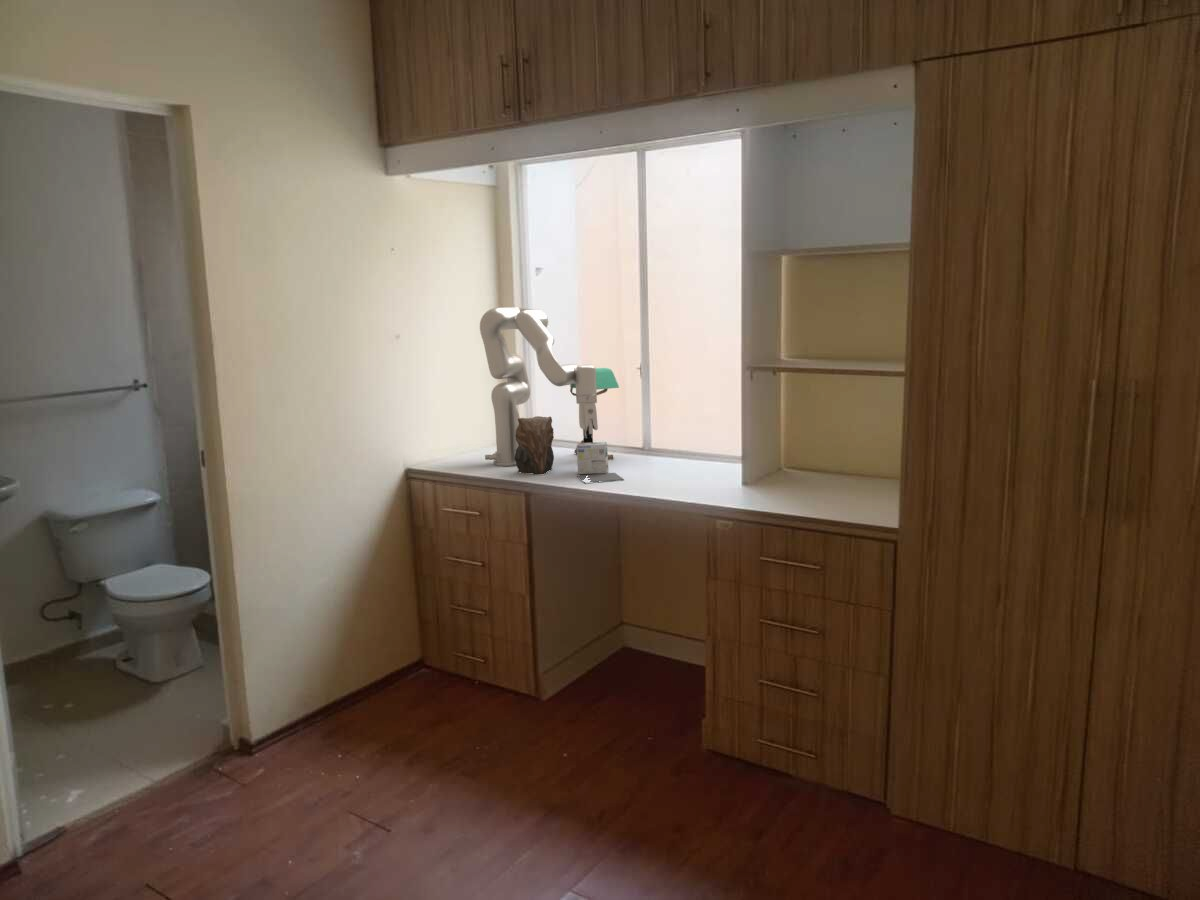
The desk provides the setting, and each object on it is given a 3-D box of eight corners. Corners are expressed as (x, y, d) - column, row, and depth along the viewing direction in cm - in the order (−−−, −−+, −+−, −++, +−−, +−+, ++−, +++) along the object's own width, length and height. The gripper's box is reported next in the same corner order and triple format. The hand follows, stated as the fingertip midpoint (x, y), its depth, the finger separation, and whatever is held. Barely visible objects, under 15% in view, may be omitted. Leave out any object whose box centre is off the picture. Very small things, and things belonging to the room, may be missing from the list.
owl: (513, 472, 320) (510, 419, 317) (532, 466, 331) (530, 414, 327) (542, 475, 314) (539, 420, 310) (560, 468, 325) (558, 415, 321)
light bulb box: (608, 470, 317) (607, 441, 316) (607, 473, 311) (605, 443, 309) (579, 471, 318) (578, 442, 317) (577, 474, 312) (576, 444, 310)
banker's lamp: (601, 450, 358) (599, 366, 352) (623, 458, 340) (620, 369, 333) (566, 454, 352) (562, 368, 346) (586, 463, 333) (583, 372, 327)
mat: (584, 483, 298) (584, 482, 297) (576, 476, 309) (576, 475, 309) (623, 480, 301) (623, 479, 301) (614, 473, 312) (614, 472, 312)
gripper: (601, 400, 310) (603, 451, 313) (591, 396, 324) (593, 444, 328) (581, 401, 308) (583, 452, 311) (572, 397, 323) (574, 446, 326)
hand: (588, 448), depth 320 cm, fingers closed
